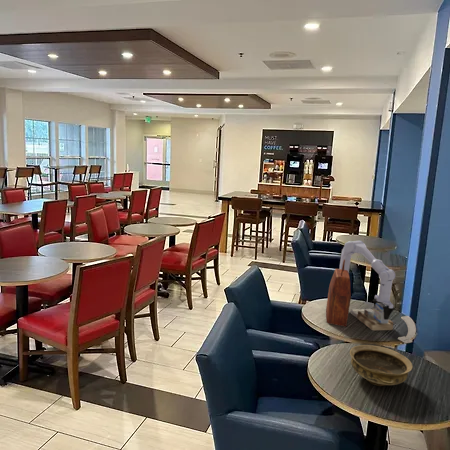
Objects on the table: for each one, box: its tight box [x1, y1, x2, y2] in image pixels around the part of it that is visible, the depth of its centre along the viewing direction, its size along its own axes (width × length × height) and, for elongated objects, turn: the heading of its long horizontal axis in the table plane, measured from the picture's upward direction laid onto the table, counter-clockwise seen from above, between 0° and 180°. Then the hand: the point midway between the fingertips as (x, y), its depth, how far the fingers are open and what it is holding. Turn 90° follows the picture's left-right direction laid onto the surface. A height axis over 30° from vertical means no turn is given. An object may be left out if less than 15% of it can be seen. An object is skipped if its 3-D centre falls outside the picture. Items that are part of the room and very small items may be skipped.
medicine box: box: [373, 303, 390, 323], centre depth 218 cm, size 8×4×9 cm, turn 9°
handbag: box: [325, 259, 352, 328], centre depth 225 cm, size 10×19×35 cm, turn 167°
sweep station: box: [349, 309, 394, 331], centre depth 228 cm, size 24×12×4 cm, turn 11°
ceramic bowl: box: [349, 344, 413, 387], centre depth 165 cm, size 30×24×10 cm
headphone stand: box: [397, 315, 417, 344], centre depth 205 cm, size 5×6×12 cm
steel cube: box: [363, 308, 374, 319], centre depth 226 cm, size 4×4×4 cm
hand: (381, 316), depth 218 cm, fingers closed on medicine box, 7 cm apart
